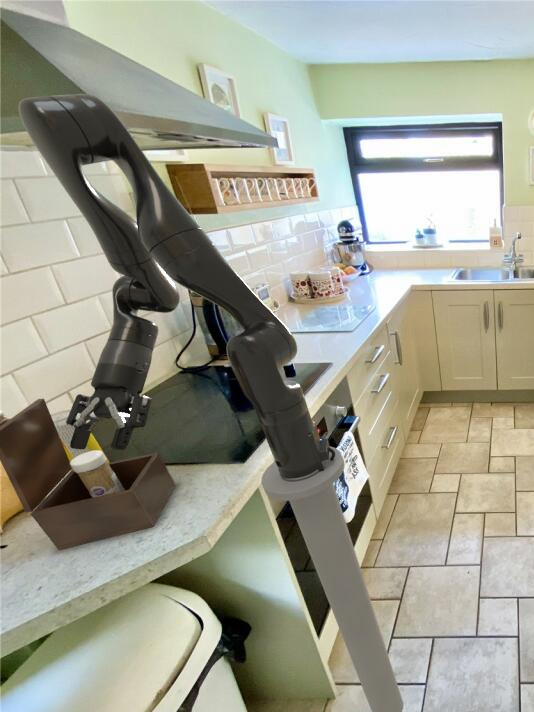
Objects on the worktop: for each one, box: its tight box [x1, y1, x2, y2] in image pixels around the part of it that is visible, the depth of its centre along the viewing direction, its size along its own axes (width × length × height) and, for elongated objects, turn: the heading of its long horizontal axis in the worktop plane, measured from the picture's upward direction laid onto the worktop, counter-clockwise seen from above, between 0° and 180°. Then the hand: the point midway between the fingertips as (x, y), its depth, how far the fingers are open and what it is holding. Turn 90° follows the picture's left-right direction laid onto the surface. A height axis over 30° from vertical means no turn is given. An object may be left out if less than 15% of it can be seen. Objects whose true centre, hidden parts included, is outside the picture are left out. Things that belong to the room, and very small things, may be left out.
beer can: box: [50, 409, 111, 471], centre depth 92 cm, size 6×6×15 cm
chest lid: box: [0, 398, 72, 513], centre depth 72 cm, size 15×13×5 cm
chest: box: [30, 452, 177, 551], centre depth 81 cm, size 15×13×9 cm
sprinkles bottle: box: [70, 450, 125, 498], centre depth 79 cm, size 5×5×14 cm
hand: (97, 449), depth 78 cm, fingers open, 8 cm apart
